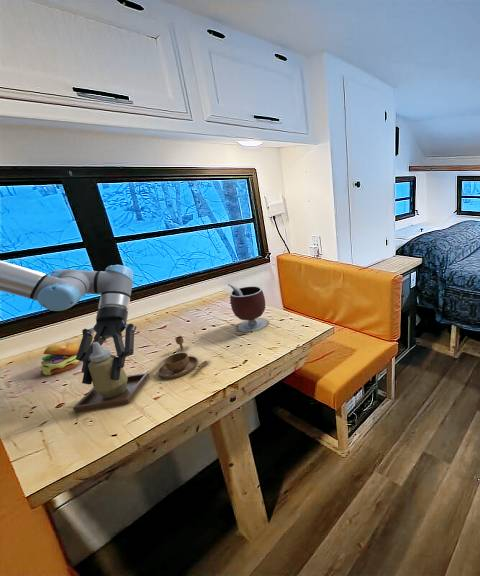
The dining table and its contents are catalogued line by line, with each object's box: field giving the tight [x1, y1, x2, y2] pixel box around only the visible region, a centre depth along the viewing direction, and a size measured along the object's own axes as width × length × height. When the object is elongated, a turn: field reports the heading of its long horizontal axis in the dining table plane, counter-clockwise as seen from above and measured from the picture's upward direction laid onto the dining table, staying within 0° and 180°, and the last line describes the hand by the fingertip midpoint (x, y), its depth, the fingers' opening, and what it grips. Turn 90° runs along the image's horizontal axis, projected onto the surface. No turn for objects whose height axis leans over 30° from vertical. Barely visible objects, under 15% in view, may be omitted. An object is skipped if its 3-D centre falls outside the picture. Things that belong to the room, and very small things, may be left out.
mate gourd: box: [227, 283, 268, 333], centre depth 135 cm, size 16×14×20 cm
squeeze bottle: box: [88, 342, 128, 398], centre depth 93 cm, size 8×8×18 cm
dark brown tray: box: [72, 372, 150, 413], centre depth 96 cm, size 14×14×2 cm
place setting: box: [157, 335, 208, 379], centre depth 111 cm, size 18×20×6 cm
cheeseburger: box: [40, 343, 80, 376], centre depth 110 cm, size 10×11×10 cm
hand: (100, 381), depth 90 cm, fingers closed on squeeze bottle, 6 cm apart
